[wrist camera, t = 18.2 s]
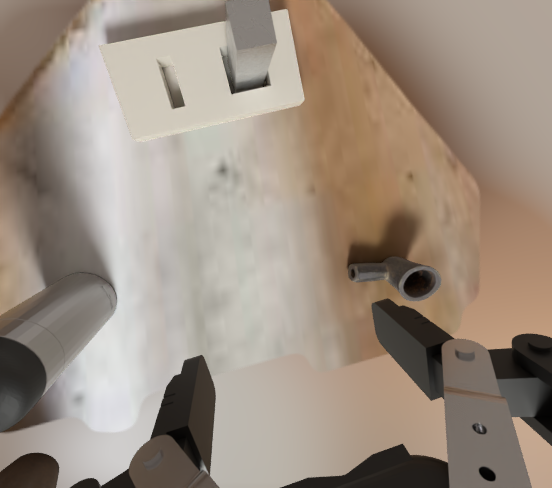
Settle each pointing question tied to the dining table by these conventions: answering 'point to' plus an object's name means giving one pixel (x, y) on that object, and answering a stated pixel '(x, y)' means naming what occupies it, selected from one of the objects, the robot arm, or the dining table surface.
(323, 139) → the dining table surface
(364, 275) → the pipe
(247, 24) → the gray square peg
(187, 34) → the socket plank
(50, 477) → the plant pot
